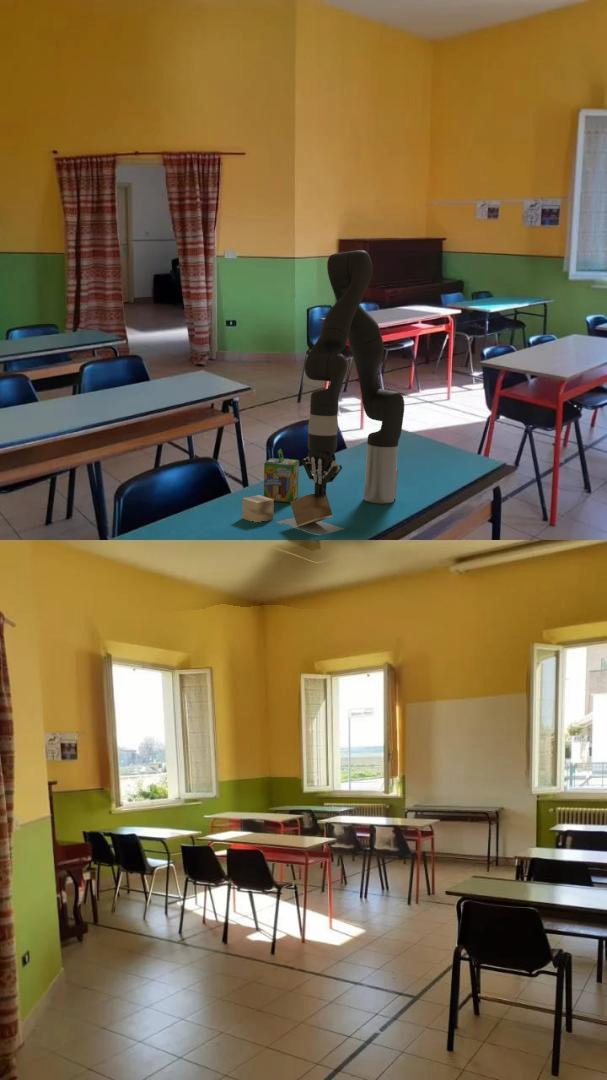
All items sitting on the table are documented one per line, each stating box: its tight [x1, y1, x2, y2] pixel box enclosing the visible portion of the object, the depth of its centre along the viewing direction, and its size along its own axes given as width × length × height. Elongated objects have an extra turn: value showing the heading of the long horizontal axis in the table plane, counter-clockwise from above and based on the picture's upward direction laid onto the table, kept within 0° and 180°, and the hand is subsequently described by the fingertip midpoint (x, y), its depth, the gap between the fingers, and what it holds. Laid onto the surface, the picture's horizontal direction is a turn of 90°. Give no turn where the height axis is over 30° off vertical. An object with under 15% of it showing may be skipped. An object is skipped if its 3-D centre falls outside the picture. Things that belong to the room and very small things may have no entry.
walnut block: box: [289, 493, 334, 527], centre depth 222 cm, size 7×7×7 cm
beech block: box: [241, 494, 275, 523], centre depth 227 cm, size 6×6×6 cm
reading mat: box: [276, 517, 345, 535], centre depth 224 cm, size 11×16×1 cm
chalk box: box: [263, 448, 300, 503], centre depth 249 cm, size 9×9×15 cm
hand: (319, 496), depth 219 cm, fingers closed
